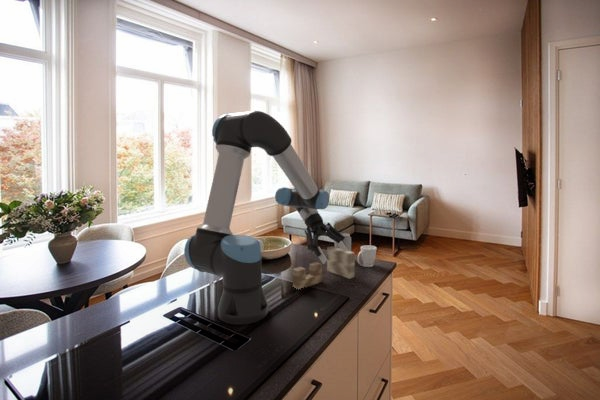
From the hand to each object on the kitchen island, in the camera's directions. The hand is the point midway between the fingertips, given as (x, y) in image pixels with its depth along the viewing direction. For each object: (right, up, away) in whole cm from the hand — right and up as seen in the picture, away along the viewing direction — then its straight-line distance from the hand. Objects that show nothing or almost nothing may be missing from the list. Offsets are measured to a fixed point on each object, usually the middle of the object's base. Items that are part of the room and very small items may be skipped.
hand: (336, 258), depth 137 cm
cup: (+13, -5, +8) cm, 16 cm away
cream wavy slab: (+1, -6, -1) cm, 6 cm away
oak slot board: (-12, -7, -12) cm, 19 cm away
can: (+5, -4, +17) cm, 18 cm away
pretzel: (-37, -3, +21) cm, 43 cm away
